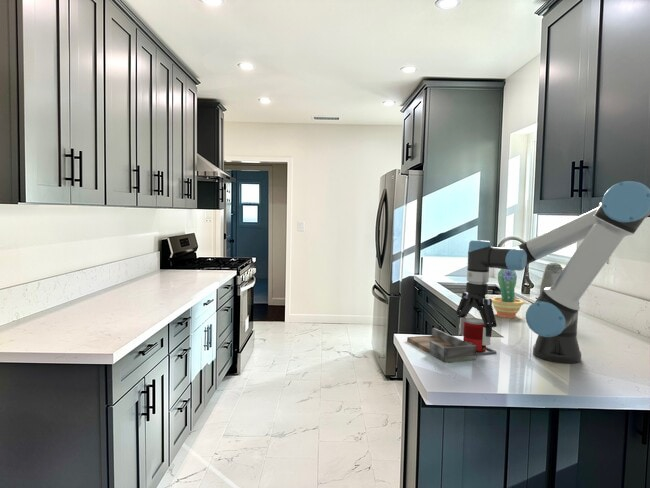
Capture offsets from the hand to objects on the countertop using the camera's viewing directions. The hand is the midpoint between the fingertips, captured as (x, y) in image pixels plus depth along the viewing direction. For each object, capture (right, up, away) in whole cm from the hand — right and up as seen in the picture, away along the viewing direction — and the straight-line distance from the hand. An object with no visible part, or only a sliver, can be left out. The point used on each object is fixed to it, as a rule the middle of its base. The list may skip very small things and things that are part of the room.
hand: (473, 339), depth 159 cm
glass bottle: (+54, -2, +49) cm, 73 cm away
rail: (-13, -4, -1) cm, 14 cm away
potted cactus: (+36, -1, +58) cm, 68 cm away
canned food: (0, -4, 0) cm, 4 cm away
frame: (0, -4, 0) cm, 4 cm away
